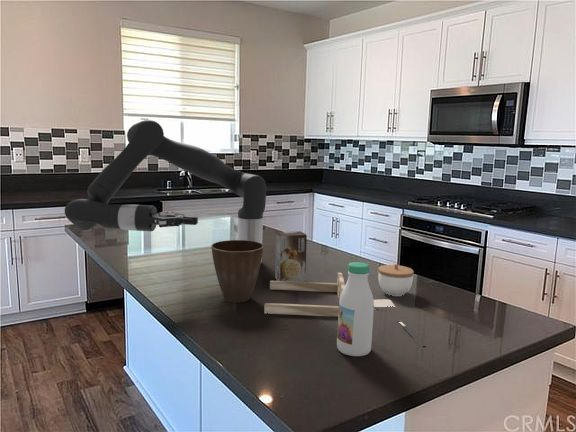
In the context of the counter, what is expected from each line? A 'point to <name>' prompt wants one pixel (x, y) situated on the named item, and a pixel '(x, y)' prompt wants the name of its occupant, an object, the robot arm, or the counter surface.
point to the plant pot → (237, 267)
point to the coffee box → (291, 256)
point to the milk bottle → (356, 312)
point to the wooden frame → (305, 309)
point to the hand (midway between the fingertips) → (197, 220)
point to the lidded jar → (395, 279)
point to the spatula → (389, 303)
